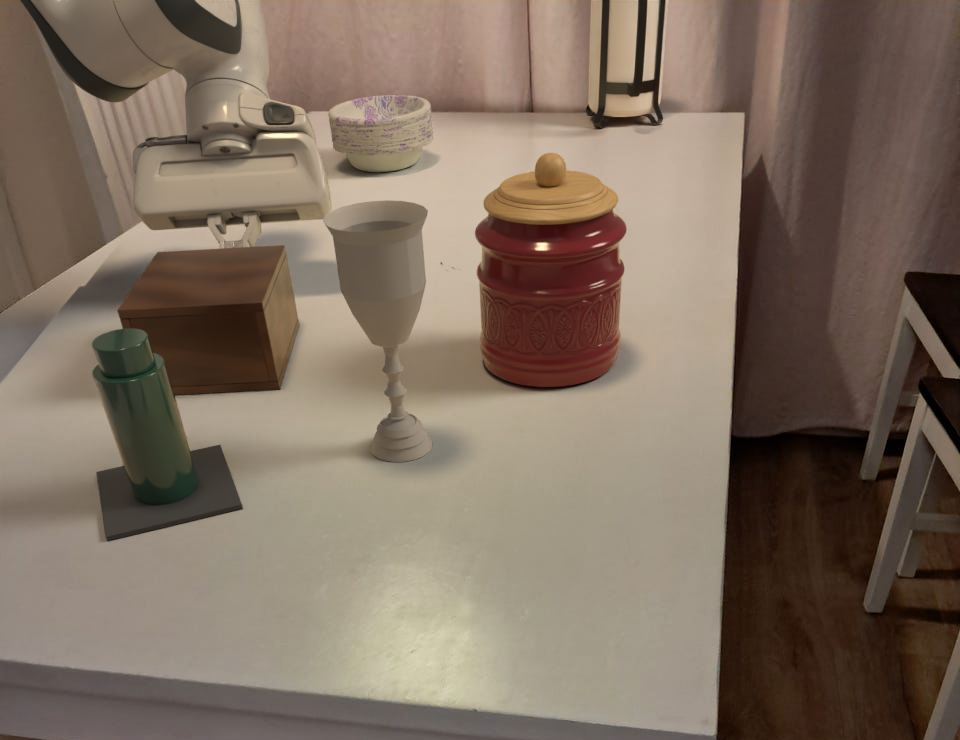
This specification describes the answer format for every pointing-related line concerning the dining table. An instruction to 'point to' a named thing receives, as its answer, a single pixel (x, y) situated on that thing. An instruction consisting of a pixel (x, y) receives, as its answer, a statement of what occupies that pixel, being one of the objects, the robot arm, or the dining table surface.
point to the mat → (137, 517)
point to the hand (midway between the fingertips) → (236, 261)
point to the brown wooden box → (217, 317)
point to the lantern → (626, 59)
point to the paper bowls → (381, 131)
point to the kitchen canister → (550, 277)
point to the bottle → (143, 417)
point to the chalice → (385, 301)
